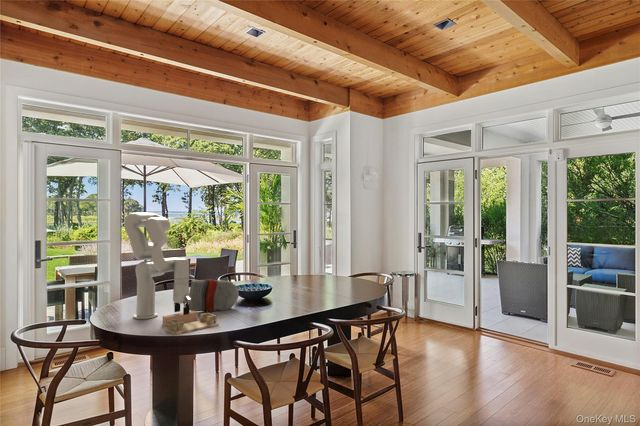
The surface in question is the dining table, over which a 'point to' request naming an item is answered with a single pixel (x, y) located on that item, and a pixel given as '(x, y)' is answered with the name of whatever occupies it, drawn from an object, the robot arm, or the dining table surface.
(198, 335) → the dining table surface
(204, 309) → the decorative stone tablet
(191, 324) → the plank with end blocks
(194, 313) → the clay strip
